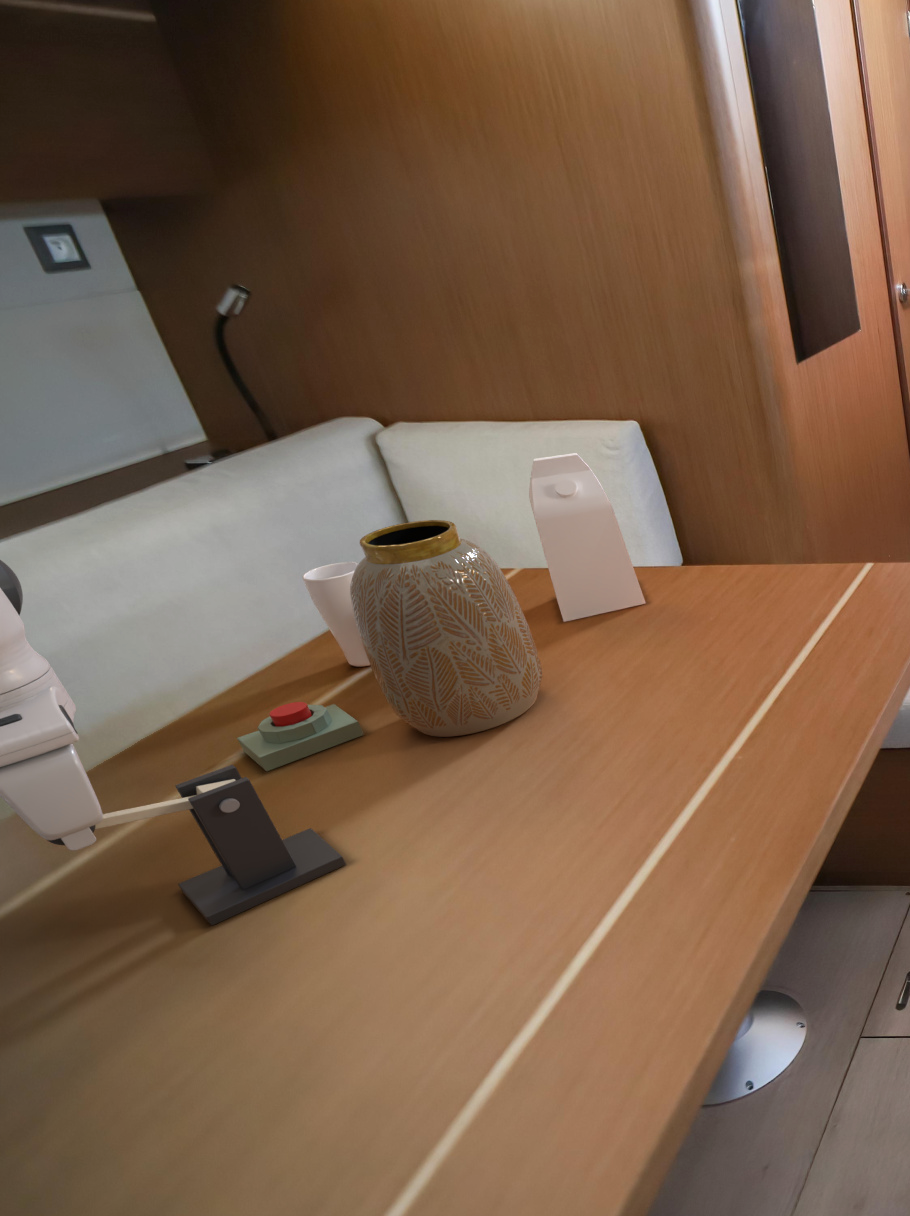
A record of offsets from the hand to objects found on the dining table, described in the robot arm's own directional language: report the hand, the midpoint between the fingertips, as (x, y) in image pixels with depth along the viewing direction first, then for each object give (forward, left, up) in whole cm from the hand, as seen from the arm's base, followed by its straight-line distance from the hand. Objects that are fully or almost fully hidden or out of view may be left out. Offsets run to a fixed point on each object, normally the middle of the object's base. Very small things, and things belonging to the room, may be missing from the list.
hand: (76, 836), depth 90 cm
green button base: (+22, +29, -13) cm, 38 cm away
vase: (+38, +19, -13) cm, 44 cm away
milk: (+66, +42, -13) cm, 79 cm away
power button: (+22, +29, -9) cm, 37 cm away
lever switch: (+4, 0, -2) cm, 5 cm away
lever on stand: (+10, 0, -13) cm, 16 cm away
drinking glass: (+36, +49, -13) cm, 62 cm away
